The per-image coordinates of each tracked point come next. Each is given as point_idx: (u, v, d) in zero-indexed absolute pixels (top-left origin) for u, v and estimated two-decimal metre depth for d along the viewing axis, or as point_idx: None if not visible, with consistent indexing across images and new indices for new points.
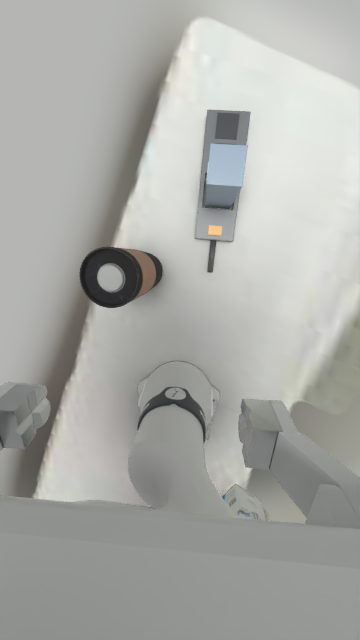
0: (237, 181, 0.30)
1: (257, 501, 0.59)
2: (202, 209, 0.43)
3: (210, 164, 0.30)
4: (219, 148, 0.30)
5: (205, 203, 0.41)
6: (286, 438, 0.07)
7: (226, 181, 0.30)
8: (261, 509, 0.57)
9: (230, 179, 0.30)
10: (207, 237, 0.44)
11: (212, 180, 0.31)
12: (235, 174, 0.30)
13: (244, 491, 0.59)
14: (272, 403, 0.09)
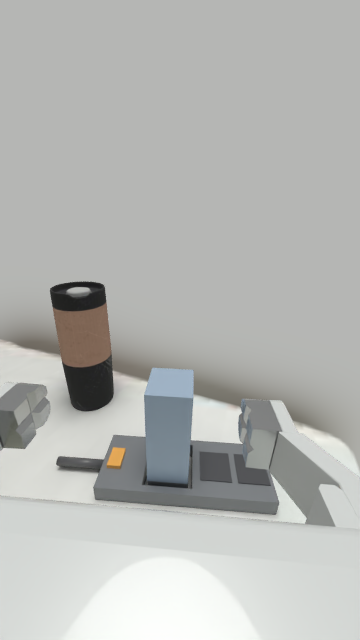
0: (151, 390, 0.23)
1: None
2: None
3: (172, 370, 0.26)
4: (188, 375, 0.25)
5: None
6: (286, 438, 0.07)
7: (152, 381, 0.24)
8: None
9: (154, 384, 0.24)
10: (109, 449, 0.30)
11: (155, 371, 0.26)
12: (159, 388, 0.23)
13: None
14: (271, 402, 0.09)
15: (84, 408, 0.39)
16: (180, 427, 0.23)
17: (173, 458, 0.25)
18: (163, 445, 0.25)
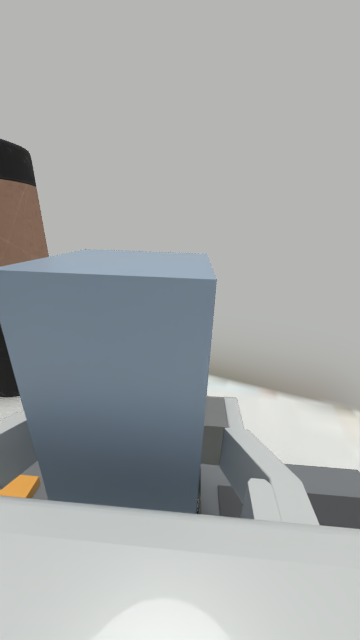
0: (33, 265, 0.05)
1: None
2: None
3: (143, 252, 0.09)
4: (193, 256, 0.08)
5: None
6: (231, 433, 0.07)
7: (62, 257, 0.07)
8: None
9: (62, 260, 0.06)
10: None
11: (90, 251, 0.08)
12: (75, 264, 0.06)
13: None
14: (225, 399, 0.09)
15: (1, 391, 0.21)
16: (158, 426, 0.06)
17: None
18: (104, 488, 0.07)
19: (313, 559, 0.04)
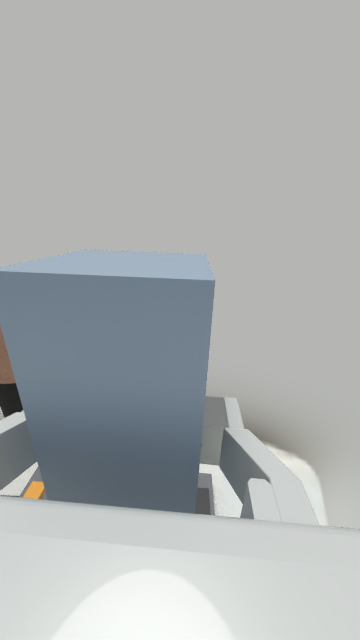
0: (33, 266, 0.05)
1: None
2: None
3: (143, 252, 0.09)
4: (192, 257, 0.08)
5: None
6: (231, 433, 0.07)
7: (62, 258, 0.07)
8: None
9: (62, 261, 0.06)
10: (29, 483, 0.26)
11: (89, 252, 0.08)
12: (74, 265, 0.06)
13: None
14: (225, 399, 0.09)
15: None
16: (157, 426, 0.06)
17: None
18: (104, 489, 0.07)
19: (313, 559, 0.04)
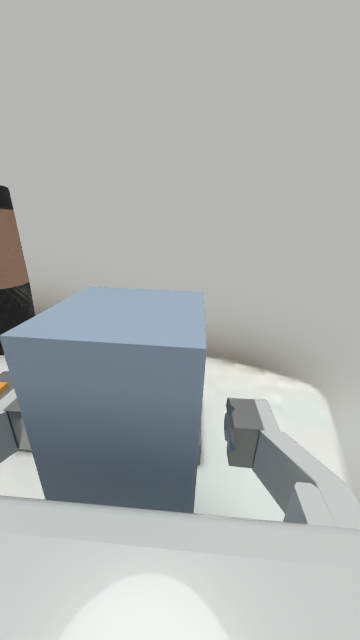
0: (41, 325, 0.06)
1: None
2: None
3: (143, 290, 0.09)
4: (189, 300, 0.08)
5: None
6: (268, 437, 0.07)
7: (67, 307, 0.07)
8: None
9: (67, 313, 0.07)
10: None
11: (93, 291, 0.09)
12: (79, 321, 0.06)
13: None
14: (255, 401, 0.09)
15: None
16: (155, 468, 0.06)
17: None
18: None
19: (313, 559, 0.04)
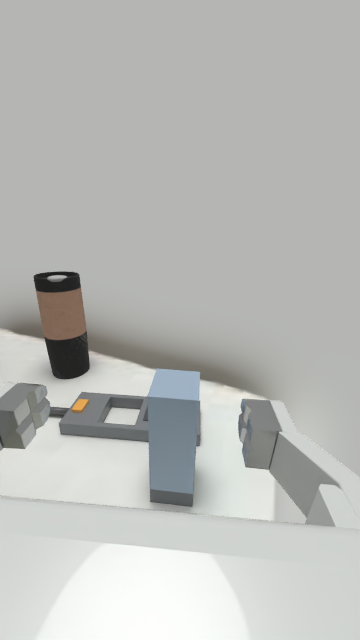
0: (154, 392, 0.22)
1: None
2: (108, 397, 0.39)
3: (177, 371, 0.25)
4: (194, 377, 0.24)
5: None
6: (287, 438, 0.07)
7: (156, 383, 0.23)
8: None
9: (158, 386, 0.23)
10: (76, 401, 0.38)
11: (160, 372, 0.25)
12: (164, 390, 0.22)
13: None
14: (271, 403, 0.09)
15: (62, 376, 0.47)
16: (185, 432, 0.22)
17: (177, 465, 0.24)
18: (167, 451, 0.23)
19: (313, 559, 0.04)
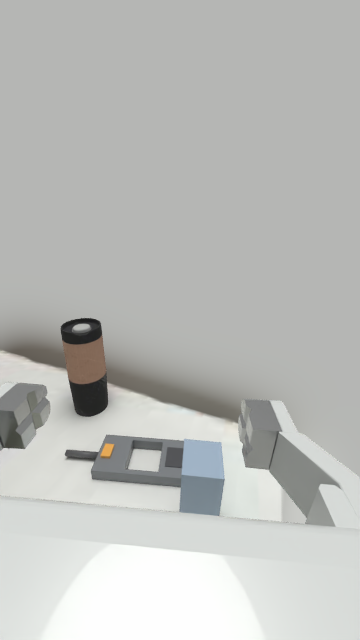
0: (186, 469, 0.26)
1: None
2: (131, 440, 0.43)
3: (202, 442, 0.29)
4: (217, 450, 0.28)
5: None
6: (286, 438, 0.07)
7: (186, 457, 0.27)
8: None
9: (188, 461, 0.27)
10: (103, 445, 0.42)
11: (187, 444, 0.29)
12: (194, 466, 0.26)
13: None
14: (272, 403, 0.09)
15: (85, 414, 0.51)
16: (211, 500, 0.27)
17: None
18: (195, 513, 0.28)
19: (313, 559, 0.04)
